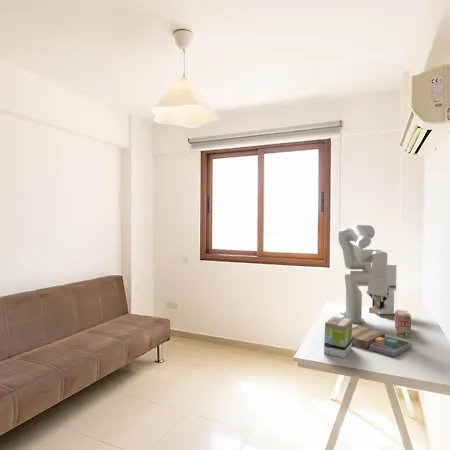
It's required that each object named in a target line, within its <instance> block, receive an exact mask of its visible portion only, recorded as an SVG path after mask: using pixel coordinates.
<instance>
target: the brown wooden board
mask: <svg viewBox="0 0 450 450" xmlns="http://www.w3.org/2000/svg"><path fill="white" fill-rule="evenodd" d="M378 337H382V338H385V337H386V332H381V331H379V330H378V331H377V330H374V329H369V328H367V327H362V326H359V325H354V326H352V346H353V347H357V348H360V349H364V350H369V345H370V344H373V343H375V339H376V338H378Z"/></svg>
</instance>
